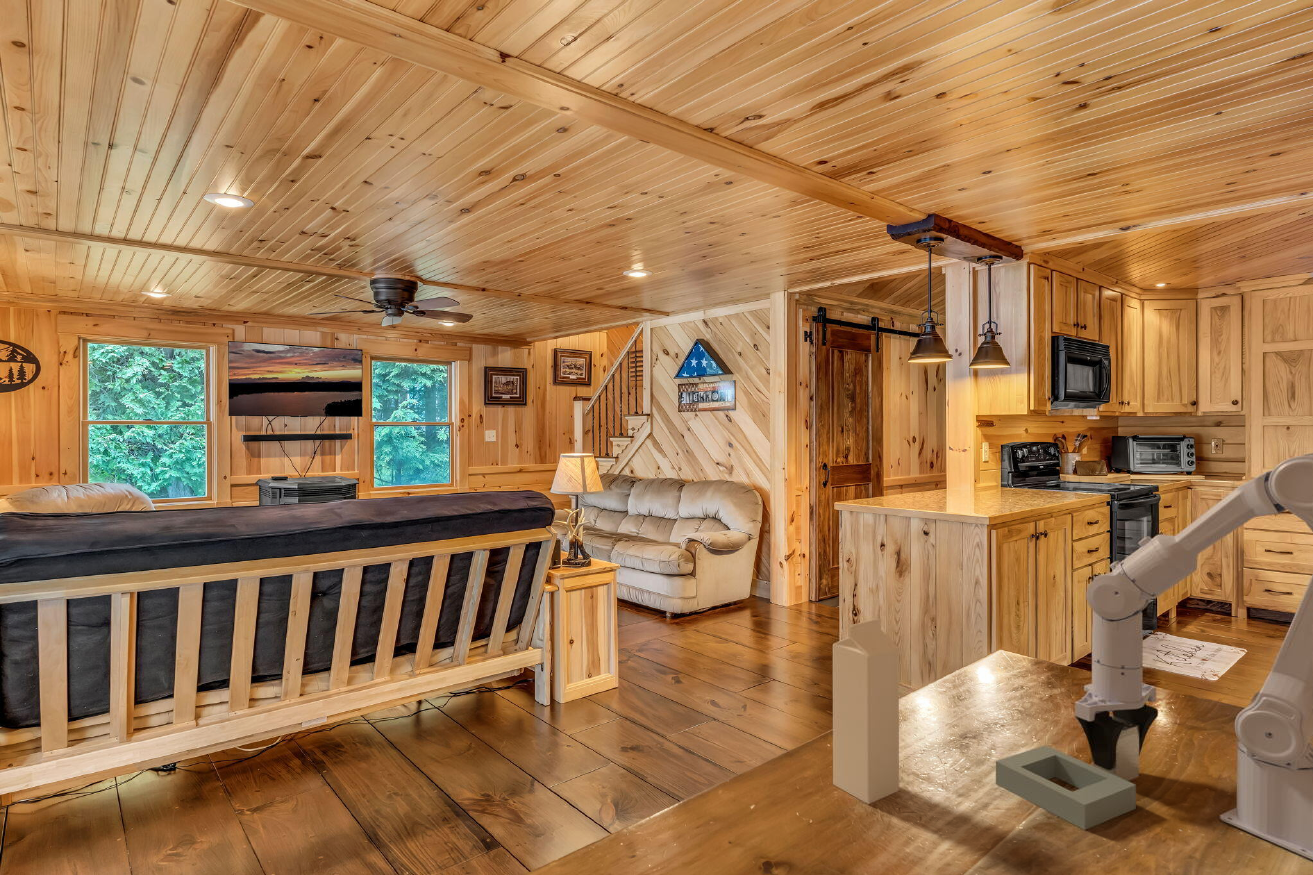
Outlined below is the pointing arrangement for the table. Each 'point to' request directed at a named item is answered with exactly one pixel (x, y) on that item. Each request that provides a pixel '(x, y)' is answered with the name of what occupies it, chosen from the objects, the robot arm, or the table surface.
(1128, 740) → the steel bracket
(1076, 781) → the well block
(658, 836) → the table surface
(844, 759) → the milk
